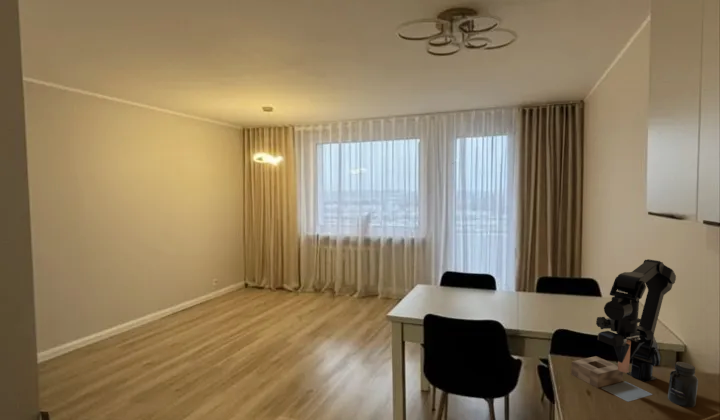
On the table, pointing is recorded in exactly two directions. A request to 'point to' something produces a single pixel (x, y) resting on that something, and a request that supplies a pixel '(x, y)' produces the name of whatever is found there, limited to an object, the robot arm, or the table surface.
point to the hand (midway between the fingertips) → (623, 361)
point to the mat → (626, 391)
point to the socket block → (596, 371)
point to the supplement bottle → (683, 385)
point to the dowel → (625, 360)
